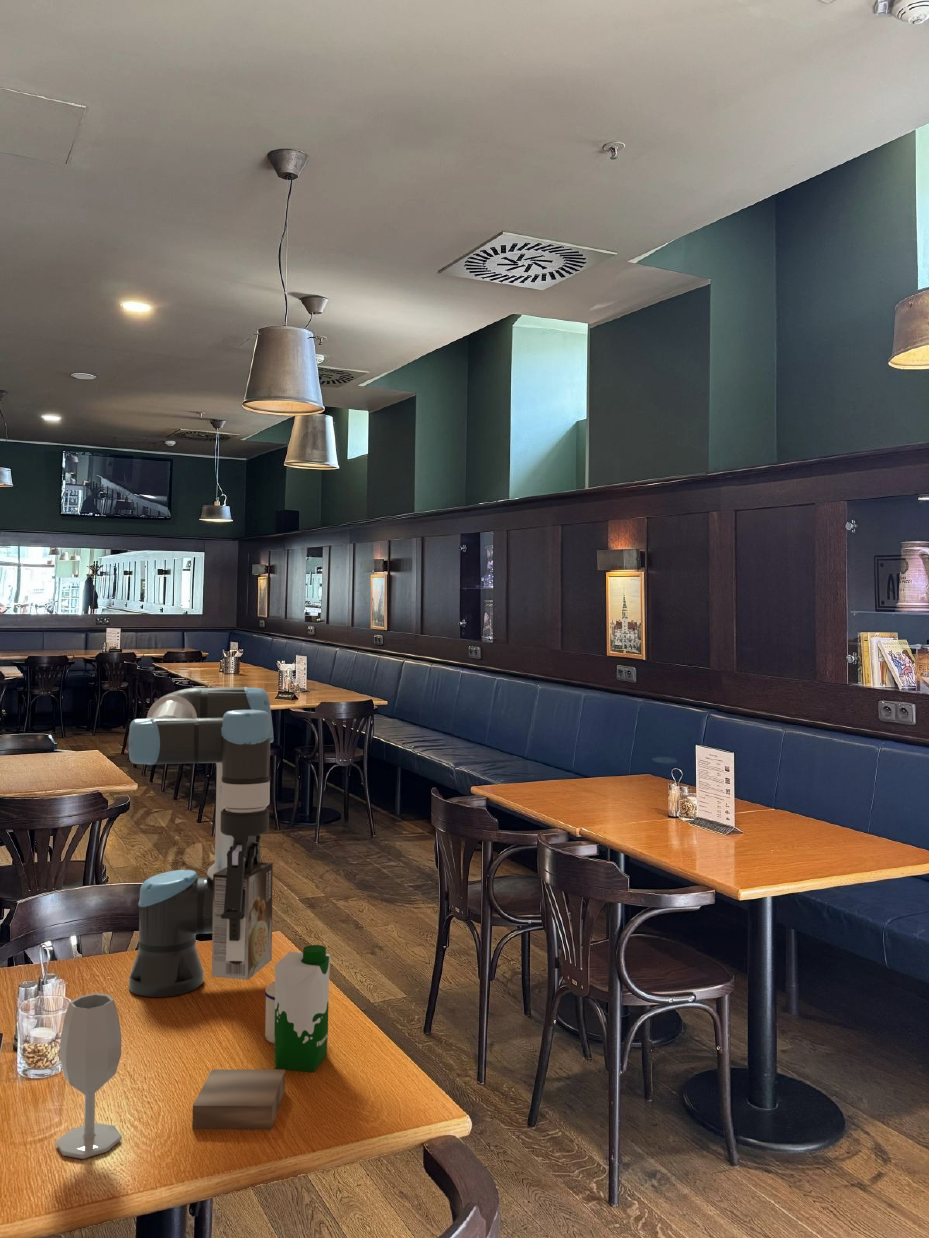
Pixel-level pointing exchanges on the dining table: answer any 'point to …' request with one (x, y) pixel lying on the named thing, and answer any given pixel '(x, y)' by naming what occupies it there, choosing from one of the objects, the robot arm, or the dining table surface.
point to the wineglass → (90, 1068)
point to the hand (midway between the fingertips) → (242, 948)
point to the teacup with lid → (270, 1012)
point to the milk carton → (302, 1009)
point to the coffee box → (255, 924)
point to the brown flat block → (239, 1100)
